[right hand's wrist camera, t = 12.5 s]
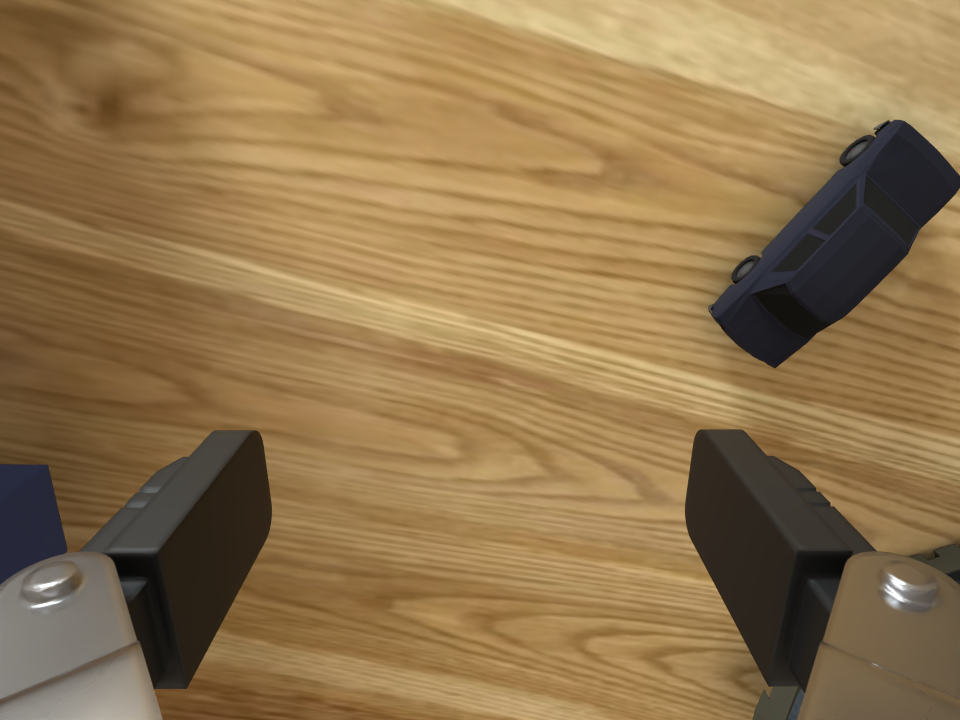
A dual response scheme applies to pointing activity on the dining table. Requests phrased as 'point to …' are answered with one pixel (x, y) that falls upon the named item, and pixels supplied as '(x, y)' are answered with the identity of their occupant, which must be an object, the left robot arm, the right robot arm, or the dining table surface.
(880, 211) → the toy car
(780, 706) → the boot
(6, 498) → the box
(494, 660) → the dining table surface
